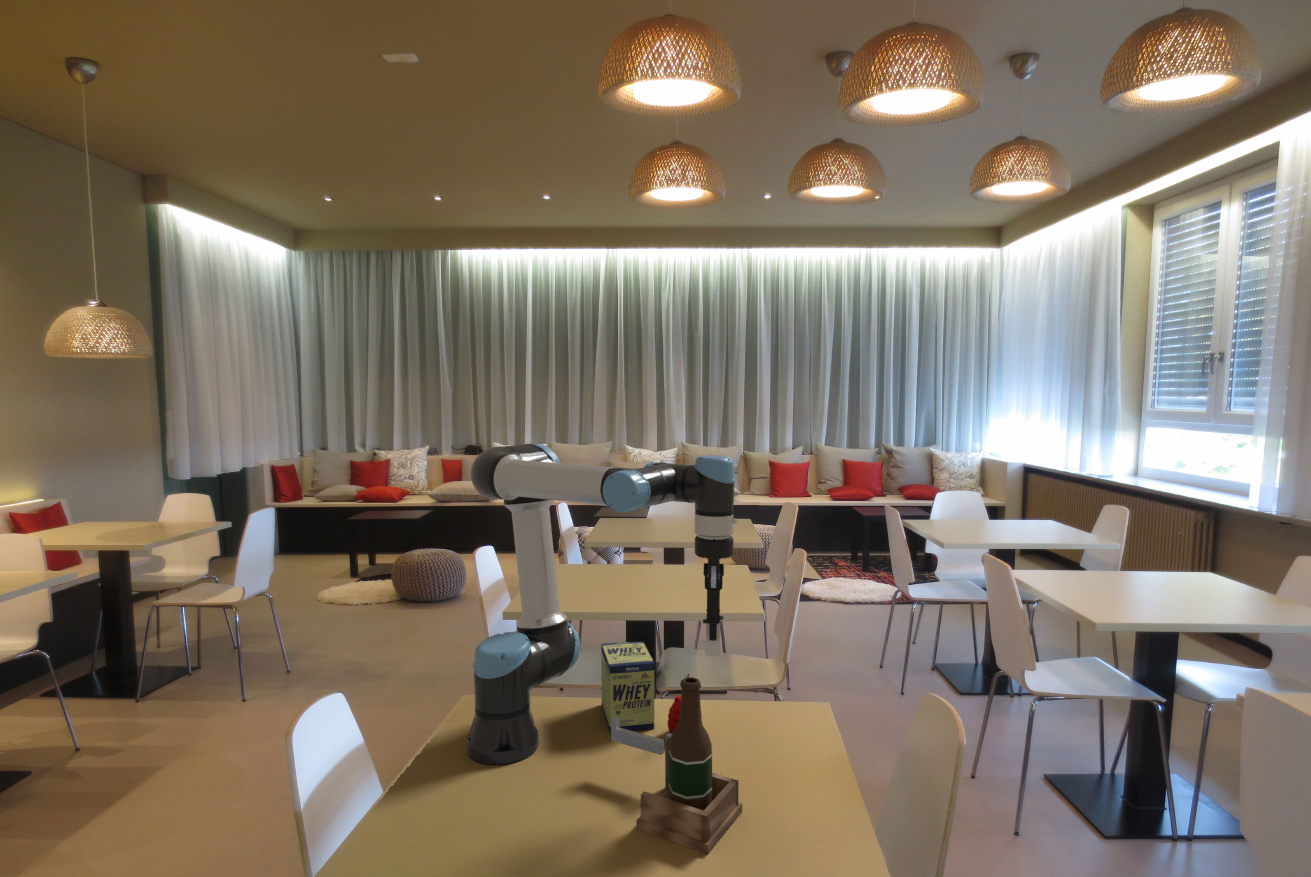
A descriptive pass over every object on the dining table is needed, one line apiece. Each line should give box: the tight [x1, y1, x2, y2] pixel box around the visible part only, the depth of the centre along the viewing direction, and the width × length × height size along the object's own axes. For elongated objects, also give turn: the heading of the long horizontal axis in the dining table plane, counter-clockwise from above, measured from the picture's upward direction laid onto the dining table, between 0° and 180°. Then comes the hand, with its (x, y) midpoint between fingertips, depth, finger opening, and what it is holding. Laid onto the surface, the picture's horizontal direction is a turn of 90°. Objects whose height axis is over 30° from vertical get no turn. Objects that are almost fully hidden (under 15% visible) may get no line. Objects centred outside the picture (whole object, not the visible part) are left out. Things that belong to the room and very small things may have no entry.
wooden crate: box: [635, 732, 743, 855], centre depth 129 cm, size 16×15×10 cm
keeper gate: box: [610, 716, 665, 756], centre depth 141 cm, size 12×1×4 cm, turn 60°
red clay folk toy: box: [667, 673, 703, 734], centre depth 160 cm, size 8×7×15 cm
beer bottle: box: [669, 676, 713, 811], centre depth 127 cm, size 8×8×24 cm
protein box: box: [600, 641, 655, 734], centre depth 169 cm, size 10×16×16 cm
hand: (712, 654), depth 141 cm, fingers closed
